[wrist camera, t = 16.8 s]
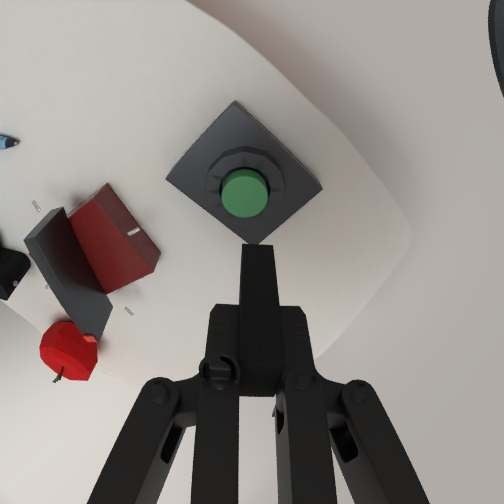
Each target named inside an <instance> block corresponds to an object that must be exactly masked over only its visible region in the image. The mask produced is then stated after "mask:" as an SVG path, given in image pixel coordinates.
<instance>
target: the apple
mask: <svg viewBox="0 0 504 504" xmlns="http://www.w3.org/2000/svg"><path fill="white" fill-rule="evenodd" d="M40 357H41V359H42V360H43V362H44V363H45V364H46V365H48V366H49V367H50V368H51V369H52V370H53V371H54V372H56V373H58V375H57V378H56V379H55V380H54V381H53V382H54V383H56V381H58V380H61V376H63V377H65V378H67V379H69V380H85V381H88V379H89V377H90V375H91V373H92V371H93V369H94V367H95V365H96V363H97V361H98V359H97V344H96V342H87V341H86V340H85V339H84V337H83V335H82V333H81V332H80V331H79V329H78V328H77V326H76V325H75V324H74V323H73V322H58V323H53V324H52V325H51V327H50V328H49V329H48V330H47V331H46V332H45V333H44V334H43V337H42V340H41V344H40Z"/></svg>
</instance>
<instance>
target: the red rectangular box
mask: <svg viewBox="0 0 504 504" xmlns="http://www.w3.org/2000/svg"><path fill="white" fill-rule="evenodd" d="M32 203H33V205H34V206H35V208H36V209H37V210H38V212H40V210H41V209H40V208H39V206H38V205H37V204H36V202H35V201H34V200H33V201H32ZM67 217H68V219H69V222H70V224H71V226H72V228H73V231H74V233H75V235H76V237H77V239H78V242H79V244H80V246H81V248H82V250H83V252H84V254H85V256H86V258H87V260H88V262H89V264H90V266H91V268H92V270H93V272H94V274H95V275H96V277H97V279H98V281H99V283H100V285H101V287H102V288H103V290H104V292H105V294H106V295H107V294H109V293H111V292H113V291H115V290H117V289H119V288H121V287H123V286H125V285H127V284H129V283H132V282H134V281H136V280H138V279H140V278H142V277H144V276H146V275H148V274H151V273H153V272H154V270H155V267H156V264H157V261H158V259H159V256H160V253H161V252H160V251H159V249H158V248H157V247H156V246H155V245H154V243H153V242H152V241H151V240H150V238H149V237H148V236H147V234H146V233H145V232H144V231H143V229H142V228H141V227H140V226H139V224H138V223H137V222H136V220H135V219H134V218H133V216H132V215H131V214H130V213H129V211H128V210H127V209H126V207H125V206H124V205H123V203H122V202H121V201H120V199H119V198H118V197H117V195H116V194H115V192H114V191H113V190H112V188H111V187H110V186H109V184H108V183H107V184H105V185H104V186H103V187H101V188H100V189H99V190H97V191H96V192H95V193H94V194H92V195H91V196H90V197H89V198H87V199H86V200H85V201H83V202H82V203H81V204H80V205H79V206H77V207H76V208H75V209H74V210H73V211H71V212H70V213H69V214H68V215H67ZM29 255H30V256H31V254H30V252H29ZM31 257H32V256H31ZM32 258H33V257H32ZM33 260H34V259H33ZM49 287H50V286H49V285H47V286H45V288H46V289H47V288H49ZM125 310H126V311H127V312H128V313H129V314H131V315H134V314H133V313H132V312H131V311H130V310H129V309H128V308H127V307H125Z"/></svg>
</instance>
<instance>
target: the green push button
mask: <svg viewBox="0 0 504 504" xmlns="http://www.w3.org/2000/svg"><path fill="white" fill-rule="evenodd" d="M267 200H268V193H267V187H266V183H265V180H264V179H263V177H262V176H261V175H260V174H259V173H257V172H256V171H253V170H250V169H239V170H236V171H234V172H232V173H231V174H229V175H228V177H227V178H226V179H225V181H224V184H223V190H222V203H223V205H224V207H225V208H226V209H227V211H229V212H230V213H231V214H233V215H235V216H238V217H251V216H254V215H256V214H258V213H259V212H261V211H262V210H263V209H264V207H265V206H266V203H267Z"/></svg>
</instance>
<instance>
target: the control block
mask: <svg viewBox="0 0 504 504" xmlns="http://www.w3.org/2000/svg"><path fill="white" fill-rule="evenodd" d="M239 169H250V170H253V171H256V172H257V173H259V174H260V175H261V176H262V177H263V179H264V180H265V183H266V187H267V193H268V200H267V203H266V206H265V207H264V209H263V210H262V211H261V212H259V213H258V214H256V215H254V216H251V217H238V216H235V215H233V214H231V213H230V212H229V211H227V209H226V208H225V207H224V205H223V203H222V190H223V184H224V181H225V179H226V178H227V177H228V175H229V174H231V173H232V172H234V171H236V170H239ZM166 180H167V181H169V182H170V183H171V184H172V185H174V186H175V187H176V188H178V189H179V190H180V191H181V192H183V193H184V194H185V195H187V196H188V197H189V198H190V199H192V200H193V201H194V202H196V203H197V204H198V205H199V206H201V207H202V208H203V209H205V210H206V211H207V212H208V213H210V214H211V215H212V216H214V217H215V218H216V219H217V220H219V221H220V222H221V223H223V224H224V225H225V226H226V227H228V228H229V229H230V230H232V231H233V232H234V233H235V234H237V235H238V236H239V237H241V238H242V239H243V240H244V241H246V242H247V243H248V244H259V243H260V242H261V241H263V240H264V239H265V238H266V237H267V236H268V235H270V234H271V233H272V232H273V231H274V230H275V229H277V228H278V227H279V226H280V225H281V224H283V223H284V222H285V221H286V220H287V219H288V218H290V217H291V216H292V215H293V214H294V213H295V212H297V211H298V210H299V209H300V208H301V207H303V206H304V205H305V204H306V203H307V202H308V201H310V200H311V199H312V198H313V197H314V196H315V195H317V194H318V193H319V192H320V191H321V190H323V188H322V186H321V185H320V183H319V181H318V180H317V179H316V178H315V177H314V175H313V174H312V173H311V172H310V171H309V170H308V169H307V168H306V167H305V166H304V165H303V164H302V163H301V162H300V161H299V160H298V159H297V158H296V157H295V156H294V155H293V154H292V153H291V152H290V151H289V150H288V149H287V148H286V147H285V146H284V145H283V144H282V143H281V142H280V141H279V140H278V139H277V138H276V137H274V136H273V135H272V134H271V133H270V132H269V131H268V130H267V129H266V128H265V127H264V126H263V125H262V124H261V123H259V122H258V121H257V120H256V119H255V118H254V117H253V116H252V115H251V114H250V113H248V112H247V111H246V110H245V109H244V108H243V107H242V106H241V105H239V104H238V103H237V102H236V101H233V102H232V103H231V104H230V105H229V106H228V107H227V108H226V109H225V110H224V111H223V113H222V114H221V115H220V116H219V117H218V118H217V119H216V120H215V121H214V122H213V123H212V124H211V125H210V126H209V127H208V128H207V129H206V131H205V132H204V133H203V134H202V135H201V136H200V137H199V138H198V139H197V140H196V142H195V143H194V144H193V145H192V146H191V147H190V148H189V149H188V151H187V152H186V153H185V154H184V155H183V156H182V158H181V159H180V160H179V161H178V162H177V163H176V165H175V166H174V167H173V168H172V169H171V171H170V172H169V174H168V175H167V177H166Z"/></svg>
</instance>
